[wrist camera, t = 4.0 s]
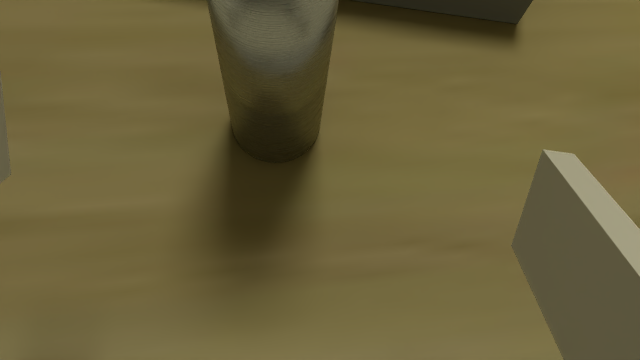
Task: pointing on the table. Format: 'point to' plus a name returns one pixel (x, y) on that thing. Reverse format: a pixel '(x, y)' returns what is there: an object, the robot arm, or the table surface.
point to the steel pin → (274, 71)
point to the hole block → (466, 8)
